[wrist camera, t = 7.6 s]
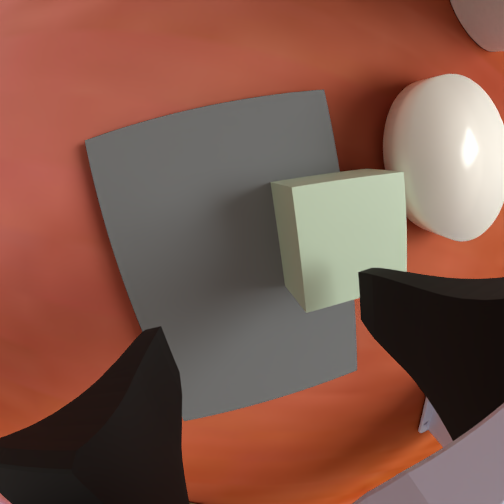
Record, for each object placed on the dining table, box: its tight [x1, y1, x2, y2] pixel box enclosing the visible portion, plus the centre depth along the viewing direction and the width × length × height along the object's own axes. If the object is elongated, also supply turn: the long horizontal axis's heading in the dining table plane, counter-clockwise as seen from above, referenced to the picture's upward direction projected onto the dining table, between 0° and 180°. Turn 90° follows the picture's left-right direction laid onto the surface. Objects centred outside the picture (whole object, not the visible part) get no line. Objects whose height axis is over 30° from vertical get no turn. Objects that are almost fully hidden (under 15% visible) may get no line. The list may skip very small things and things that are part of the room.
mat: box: [85, 90, 357, 421], centre depth 15 cm, size 16×11×1 cm
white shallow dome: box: [383, 74, 504, 241], centre depth 14 cm, size 9×9×3 cm
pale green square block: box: [270, 169, 407, 313], centre depth 13 cm, size 5×5×3 cm
